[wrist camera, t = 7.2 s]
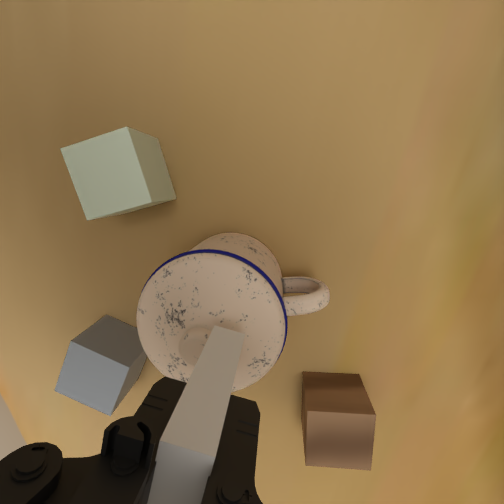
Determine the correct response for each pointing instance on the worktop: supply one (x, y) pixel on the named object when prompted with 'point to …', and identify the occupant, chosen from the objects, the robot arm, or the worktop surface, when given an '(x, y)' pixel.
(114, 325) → the slate block
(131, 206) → the sage block
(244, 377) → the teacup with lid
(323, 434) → the walnut block
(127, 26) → the worktop surface
